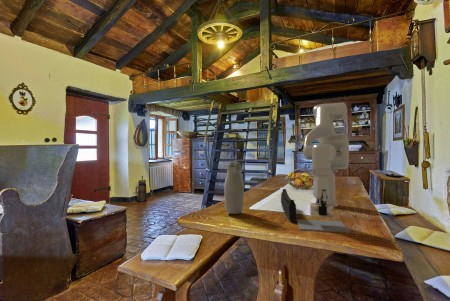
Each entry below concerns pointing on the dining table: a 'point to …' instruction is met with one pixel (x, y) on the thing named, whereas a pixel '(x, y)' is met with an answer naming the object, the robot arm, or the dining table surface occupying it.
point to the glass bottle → (234, 188)
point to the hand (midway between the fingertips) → (321, 212)
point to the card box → (315, 210)
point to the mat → (322, 226)
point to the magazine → (288, 206)
